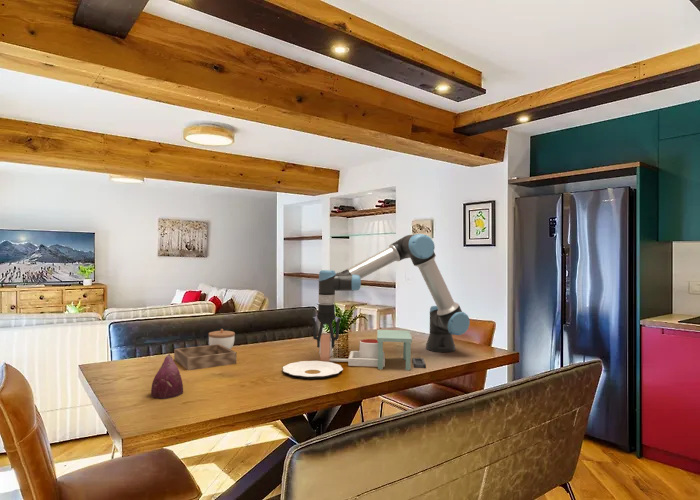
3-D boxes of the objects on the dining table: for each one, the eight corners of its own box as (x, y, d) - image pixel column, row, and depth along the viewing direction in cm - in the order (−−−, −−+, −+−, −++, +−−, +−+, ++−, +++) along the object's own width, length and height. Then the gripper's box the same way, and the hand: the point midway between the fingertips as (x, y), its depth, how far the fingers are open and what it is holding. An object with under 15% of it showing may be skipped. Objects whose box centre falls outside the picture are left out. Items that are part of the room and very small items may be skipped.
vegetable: (157, 399, 163) (156, 356, 166) (187, 395, 163) (185, 352, 167) (146, 401, 152) (145, 355, 156) (177, 397, 153) (176, 351, 157)
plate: (350, 368, 199) (350, 363, 199) (329, 383, 175) (329, 378, 175) (298, 362, 207) (298, 358, 207) (271, 376, 183) (271, 372, 183)
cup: (378, 366, 202) (379, 343, 202) (357, 364, 205) (357, 342, 205) (383, 361, 212) (383, 339, 212) (362, 359, 214) (362, 338, 214)
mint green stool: (376, 369, 197) (377, 337, 197) (376, 357, 218) (377, 329, 218) (411, 370, 196) (412, 339, 196) (408, 358, 217) (409, 330, 217)
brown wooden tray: (219, 354, 219) (219, 344, 219) (236, 363, 202) (236, 352, 202) (174, 360, 207) (174, 349, 207) (188, 370, 190) (188, 358, 190)
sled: (318, 364, 201) (319, 337, 201) (323, 356, 217) (323, 331, 217) (384, 366, 199) (385, 339, 199) (384, 358, 215) (384, 332, 215)
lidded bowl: (239, 350, 228) (240, 328, 228) (220, 355, 218) (220, 332, 218) (222, 347, 235) (222, 326, 235) (202, 351, 225) (203, 329, 225)
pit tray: (414, 367, 201) (414, 364, 201) (412, 361, 213) (412, 357, 213) (425, 368, 200) (425, 364, 200) (423, 361, 212) (423, 358, 212)
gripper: (306, 304, 206) (305, 356, 206) (344, 305, 205) (343, 357, 205) (309, 302, 214) (308, 352, 214) (345, 303, 212) (344, 353, 212)
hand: (325, 354), depth 209 cm, fingers closed on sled, 4 cm apart
